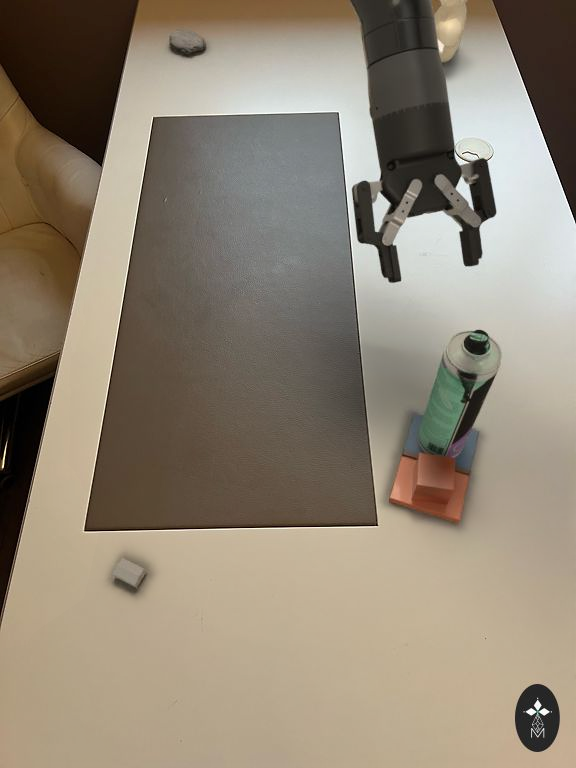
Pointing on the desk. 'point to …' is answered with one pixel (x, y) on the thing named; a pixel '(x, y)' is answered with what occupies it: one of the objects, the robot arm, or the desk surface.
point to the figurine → (450, 26)
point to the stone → (186, 41)
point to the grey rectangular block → (129, 572)
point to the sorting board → (405, 476)
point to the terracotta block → (433, 478)
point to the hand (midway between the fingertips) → (433, 273)
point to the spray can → (459, 392)
